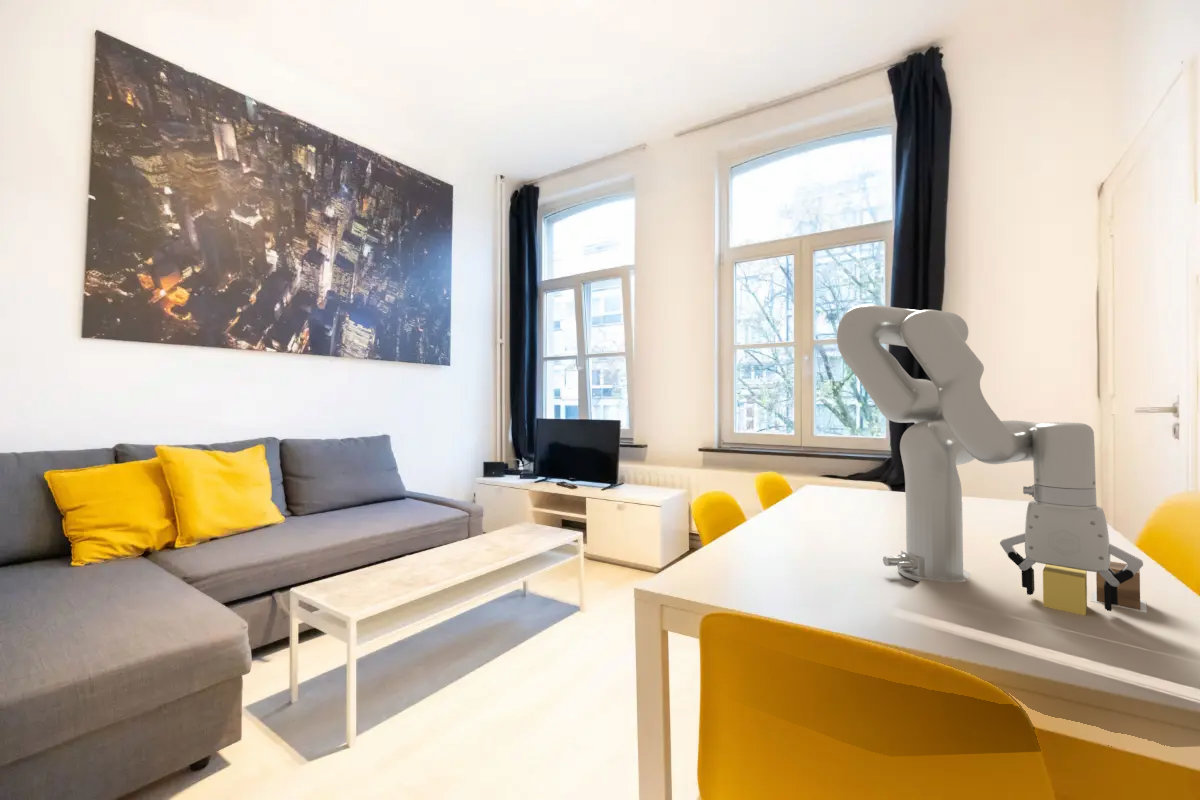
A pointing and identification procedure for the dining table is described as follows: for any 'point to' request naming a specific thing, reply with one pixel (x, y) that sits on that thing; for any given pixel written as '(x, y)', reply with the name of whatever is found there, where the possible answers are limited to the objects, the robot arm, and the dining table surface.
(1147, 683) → the dining table surface
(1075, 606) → the mustard block
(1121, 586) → the walnut block
